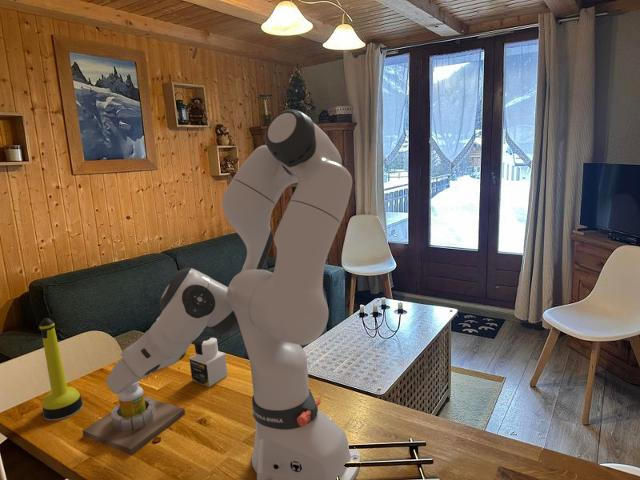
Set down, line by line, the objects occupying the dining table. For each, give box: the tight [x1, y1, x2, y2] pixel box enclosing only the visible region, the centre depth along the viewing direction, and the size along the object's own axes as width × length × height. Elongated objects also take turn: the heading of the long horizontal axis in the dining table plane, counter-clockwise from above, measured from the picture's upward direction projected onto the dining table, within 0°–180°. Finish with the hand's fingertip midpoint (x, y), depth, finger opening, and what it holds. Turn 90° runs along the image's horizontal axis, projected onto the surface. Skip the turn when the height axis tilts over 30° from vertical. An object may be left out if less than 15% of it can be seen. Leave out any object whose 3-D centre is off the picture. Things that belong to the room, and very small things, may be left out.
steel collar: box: [110, 396, 156, 432], centre depth 107 cm, size 9×9×3 cm
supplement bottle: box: [118, 381, 146, 417], centre depth 106 cm, size 5×5×10 cm
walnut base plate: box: [82, 399, 186, 456], centre depth 107 cm, size 16×16×2 cm
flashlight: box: [39, 317, 84, 421], centre depth 113 cm, size 25×9×9 cm
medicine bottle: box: [189, 335, 228, 388], centre depth 126 cm, size 7×7×12 cm
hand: (138, 378), depth 102 cm, fingers open, 8 cm apart
